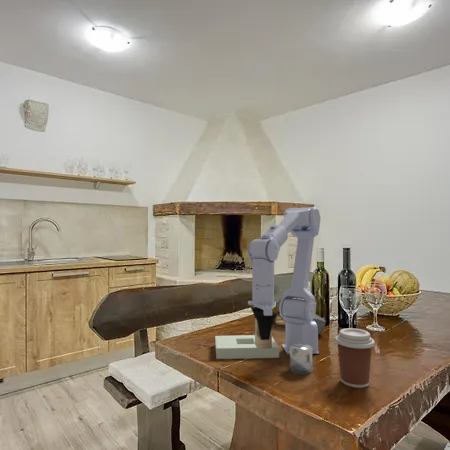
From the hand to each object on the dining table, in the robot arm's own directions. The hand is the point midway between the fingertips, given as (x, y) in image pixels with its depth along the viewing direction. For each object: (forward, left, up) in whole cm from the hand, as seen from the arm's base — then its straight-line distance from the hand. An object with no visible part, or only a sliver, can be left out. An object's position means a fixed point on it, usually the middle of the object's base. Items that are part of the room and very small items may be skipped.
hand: (263, 336), depth 92 cm
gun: (-18, -40, -9) cm, 45 cm away
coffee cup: (-21, +8, -9) cm, 24 cm away
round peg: (-10, 0, -9) cm, 13 cm away
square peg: (0, 0, -2) cm, 2 cm away
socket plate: (+3, -15, -9) cm, 18 cm away
